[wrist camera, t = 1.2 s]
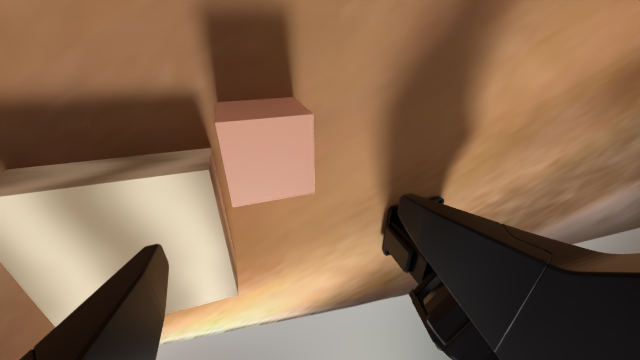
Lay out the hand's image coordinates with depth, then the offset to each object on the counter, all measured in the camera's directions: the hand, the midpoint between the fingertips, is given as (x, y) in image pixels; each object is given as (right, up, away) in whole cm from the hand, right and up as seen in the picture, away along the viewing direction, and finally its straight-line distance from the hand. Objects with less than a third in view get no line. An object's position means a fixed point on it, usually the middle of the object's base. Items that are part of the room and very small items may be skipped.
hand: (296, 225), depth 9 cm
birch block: (-12, -2, +10) cm, 15 cm away
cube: (-3, +5, +9) cm, 11 cm away
